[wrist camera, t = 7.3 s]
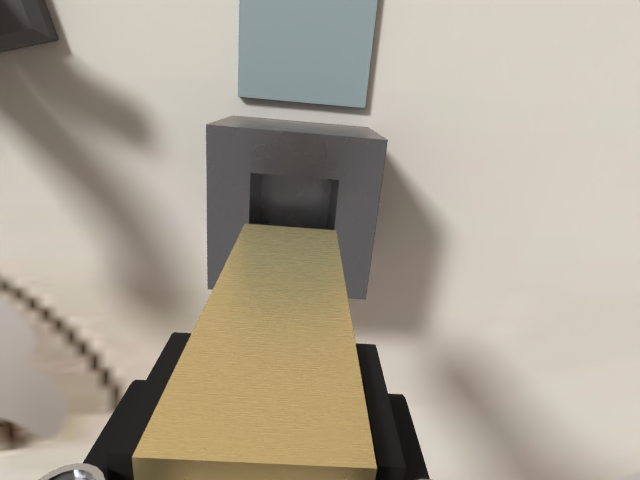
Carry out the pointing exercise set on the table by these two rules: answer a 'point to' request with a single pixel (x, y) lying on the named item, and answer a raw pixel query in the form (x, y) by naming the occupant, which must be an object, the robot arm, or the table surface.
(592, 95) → the table surface
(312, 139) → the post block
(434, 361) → the table surface
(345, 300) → the brass peg
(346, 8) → the rubber pad
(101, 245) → the table surface
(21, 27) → the faucet
